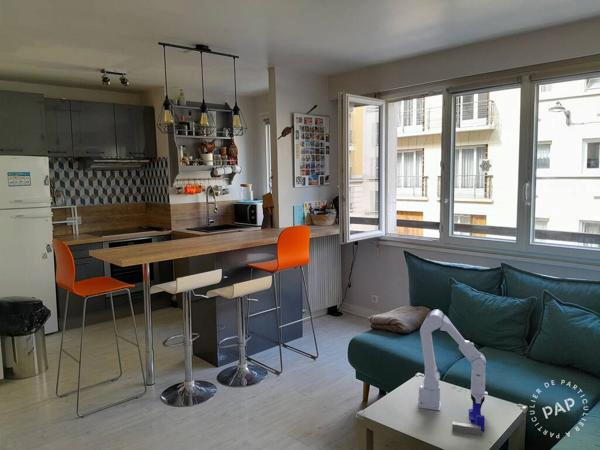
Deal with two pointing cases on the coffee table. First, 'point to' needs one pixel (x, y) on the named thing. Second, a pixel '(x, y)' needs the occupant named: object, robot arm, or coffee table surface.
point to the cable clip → (477, 416)
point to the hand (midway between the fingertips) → (477, 411)
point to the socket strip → (466, 428)
